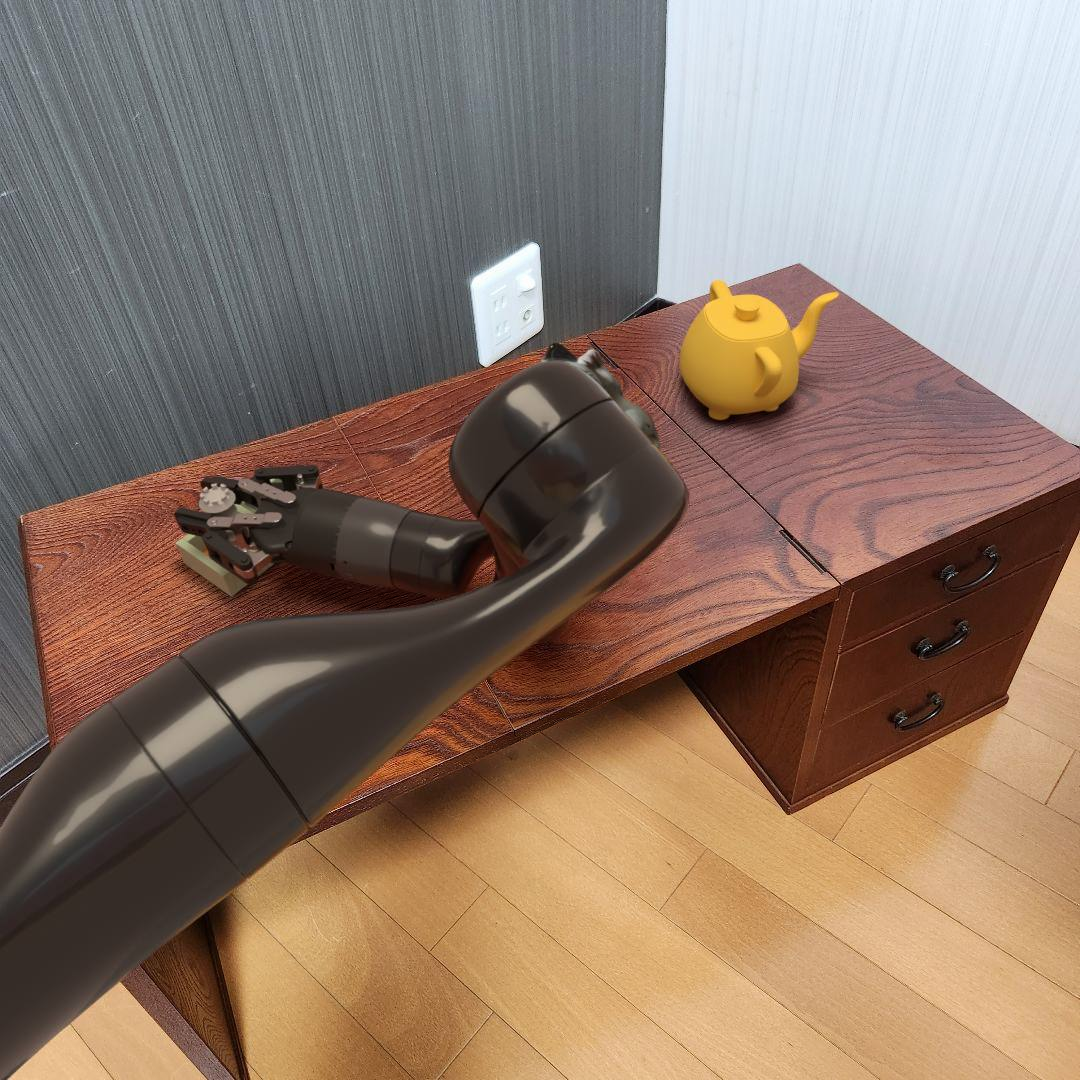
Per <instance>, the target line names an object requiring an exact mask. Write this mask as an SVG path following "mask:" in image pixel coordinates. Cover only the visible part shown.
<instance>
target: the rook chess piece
mask: <svg viewBox="0 0 1080 1080" xmlns="http://www.w3.org/2000/svg"><path fill="white" fill-rule="evenodd" d="M211 486H212V489H210V490H208V488H207V487H205V488H204V489H202V490H201V491H202V493H200V494H199V498H200V499H199V501H198V507H199V509H200V510H201V512H204V513H209V514H212V515H213V517H234V516H235V514H237V507H236V506H235V504H233V503H234V501H235V494H234V493H233V492H232V491H231V490H229V489H228V488H227V487H226V485H224V484H221V485H220V487H218V486H217V483H216V484H211ZM225 531H226V532H233V531H231V530H225ZM248 531H249V530H248ZM235 547H237V548H238V549H240V550H241V551H242V549H241V548H239V547H238V546H235Z"/></svg>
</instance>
